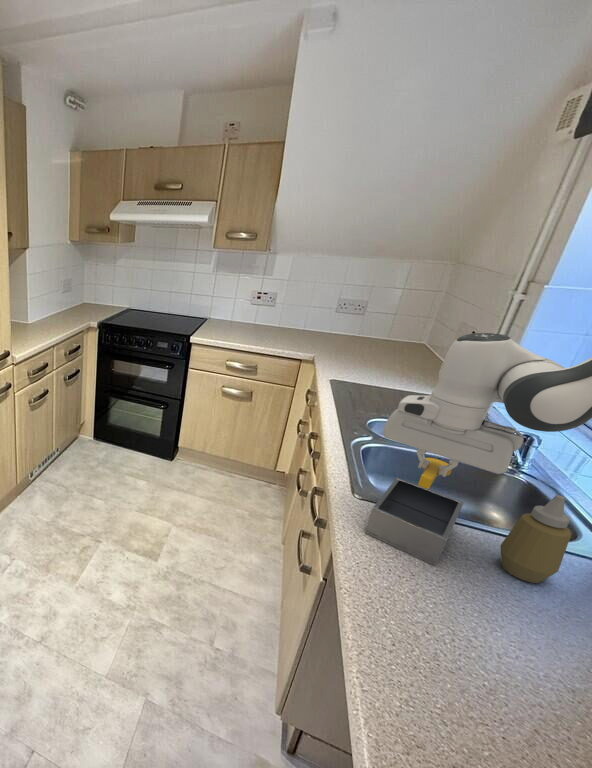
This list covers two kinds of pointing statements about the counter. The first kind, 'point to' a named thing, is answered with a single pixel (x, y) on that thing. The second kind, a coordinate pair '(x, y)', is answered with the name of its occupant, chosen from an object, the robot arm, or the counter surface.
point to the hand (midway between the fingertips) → (431, 471)
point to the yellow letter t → (431, 472)
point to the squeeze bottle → (537, 542)
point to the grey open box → (414, 520)
